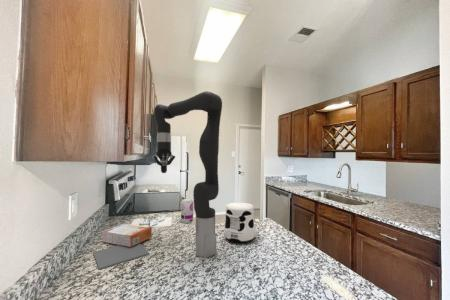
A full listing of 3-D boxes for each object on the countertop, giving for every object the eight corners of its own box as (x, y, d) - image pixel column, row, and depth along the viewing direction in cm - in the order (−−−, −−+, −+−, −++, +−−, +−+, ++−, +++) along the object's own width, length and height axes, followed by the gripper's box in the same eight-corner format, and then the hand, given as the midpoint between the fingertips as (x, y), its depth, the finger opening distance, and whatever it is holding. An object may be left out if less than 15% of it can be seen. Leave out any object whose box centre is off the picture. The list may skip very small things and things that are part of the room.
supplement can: (195, 220, 143) (195, 198, 144) (190, 224, 135) (190, 201, 136) (184, 219, 146) (184, 198, 146) (178, 223, 138) (179, 200, 138)
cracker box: (152, 238, 112) (125, 233, 120) (152, 226, 112) (125, 222, 121) (130, 248, 99) (102, 242, 108) (130, 235, 99) (102, 230, 108)
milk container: (248, 231, 123) (248, 201, 124) (260, 243, 107) (260, 208, 107) (220, 233, 119) (220, 202, 119) (229, 246, 102) (229, 210, 103)
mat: (149, 254, 94) (149, 253, 94) (99, 269, 82) (99, 268, 82) (137, 241, 108) (137, 240, 108) (93, 253, 96) (93, 251, 96)
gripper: (154, 140, 106) (154, 174, 105) (178, 141, 114) (178, 172, 114) (149, 141, 112) (149, 173, 111) (172, 142, 120) (172, 171, 120)
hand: (163, 172), depth 112 cm, fingers closed
